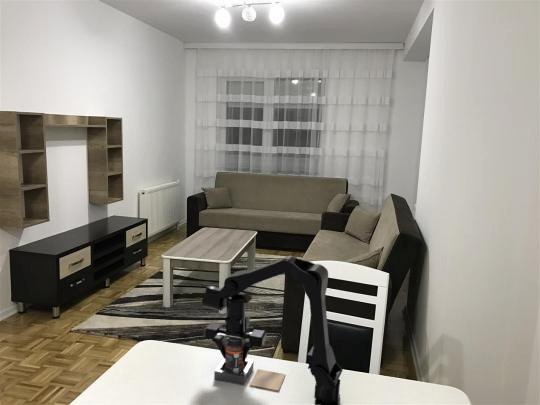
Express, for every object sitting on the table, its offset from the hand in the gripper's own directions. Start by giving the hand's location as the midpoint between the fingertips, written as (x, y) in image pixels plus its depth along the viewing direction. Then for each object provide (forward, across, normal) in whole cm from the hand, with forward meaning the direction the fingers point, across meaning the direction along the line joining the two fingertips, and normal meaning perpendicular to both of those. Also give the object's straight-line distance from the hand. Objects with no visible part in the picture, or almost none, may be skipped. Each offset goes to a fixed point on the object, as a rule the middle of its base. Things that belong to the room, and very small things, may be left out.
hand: (234, 359), depth 142 cm
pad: (+5, -11, 0) cm, 12 cm away
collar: (+5, 0, 0) cm, 5 cm away
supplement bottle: (+4, 0, 0) cm, 4 cm away
